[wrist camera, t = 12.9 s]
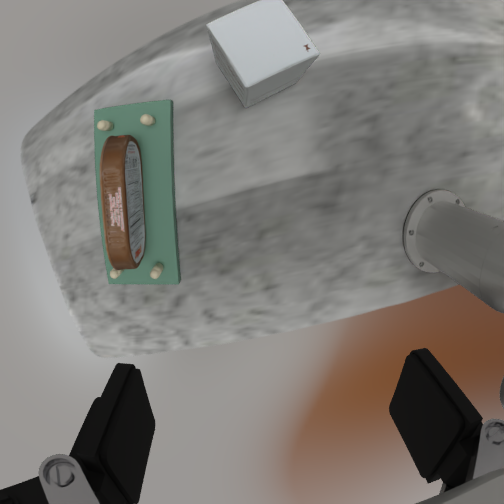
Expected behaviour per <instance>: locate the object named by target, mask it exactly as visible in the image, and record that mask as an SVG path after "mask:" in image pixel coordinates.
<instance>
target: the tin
mask: <svg viewBox="0 0 504 504" xmlns="http://www.w3.org/2000/svg"><path fill="white" fill-rule="evenodd" d="M100 190H101V205H102V217H103V228H104V237H105V245H106V251H107V255H108V259H109V261H110V263H111V265H112V267H113V268H114V269H115V270H121V269H136V268H138V266H139V265H140V263H141V261H142V259H143V257H144V251H145V237H146V236H145V215H144V195H143V173H142V159H141V152H140V148H139V145H138V142H137V140H136V139H135V138H134V137H133V136H131V135H121V136H113V135H111V136H109V137H108V138H107V139H106V141H105V142H104V145H103V148H102V152H101V157H100Z"/></svg>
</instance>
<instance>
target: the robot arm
mask: <svg viewBox="0 0 504 504" xmlns="http://www.w3.org/2000/svg"><path fill="white" fill-rule="evenodd" d="M404 247H405V251H406V254H407V256H408V258H409V260H410V261H411V262H412V263H413V264H414V265H415V266H416V267H417V268H418V269H420V270H422V271H424V272H428V273H437V272H440V271H441V272H443V273H444V274H446V275H447V276H449V277H450V278H451V279H453V280H454V281H456V282H457V283H459V284H460V285H461V286H463V287H464V288H466V289H467V290H468V291H470V292H471V293H473V294H474V295H475V296H477V297H478V298H479V299H481V300H482V301H483V302H485V303H486V304H487V305H489V306H490V307H491V308H493V309H495V310H496V311H499V312H501V313H504V221H502V220H499V219H497V218H494V217H491V216H489V215H486V214H483V213H480V212H477V211H474V210H472V209H469V208H466V207H465V204H464V203H463V201H462V200H461V199H460V198H459V197H458V196H457V195H456V194H454V193H452V192H450V191H447V190H441V189H438V190H432V191H430V192H427V193H426V194H424V195H423V196H421V197H420V198H419V199H418V200H417V201H416V202H415V204H414V205H413V207H412V208H411V210H410V212H409V214H408V216H407V219H406V222H405V227H404ZM500 401H501V404H502V407H503V408H504V377H503V380H502V383H501V386H500ZM389 412H390V415H391V417H392V419H393V420H394V423H395V425H396V427H397V428H398V430H399V432H400V434H401V436H402V438H403V440H404V442H405V444H406V446H407V448H408V450H409V452H410V454H411V457H412V458H413V461H414V463H415V465H416V467H417V469H418V471H419V473H420V475H421V476H422V477H423V478H426V480H427V482H428V483H431V482H433V481H436V480H438V479H440V478H441V479H442V481H443V484H442V487H441V490H440V493H439V495H437V496H434V497H432V498H429V499H427V500H424V501H421V502H419V503H416V504H504V421H503V420H500V419H490V420H488V421H486V422H485V423H484V424H482V422H481V421H482V419H483V418H482V417H481V415H480V414H479V413H478V411H477V410H476V409H475V407H474V406H473V405H472V403H471V402H470V401H469V399H468V398H467V397H466V396H465V394H464V393H463V392H462V390H461V389H460V388H459V387H458V385H457V384H456V383H455V382H454V380H453V379H452V378H451V377H450V375H449V374H448V373H447V372H446V371H445V369H444V368H443V367H442V366H441V364H440V363H439V362H438V361H437V360H436V358H435V357H434V356H433V355H432V354H431V352H430V351H429V350H428V349H426V348H423V349H418V350H413V351H411V353H410V355H408V356H407V357H406V360H405V363H404V366H403V369H402V372H401V375H400V379H399V381H398V384H397V387H396V390H395V393H394V395H393V398H392V401H391V403H390V406H389ZM154 431H155V419H154V416H153V413H152V410H151V406H150V403H149V400H148V396H147V393H146V389H145V386H144V382H143V378H142V375H141V371H140V369H136V368H135V366H134V365H133V364H123V363H118V364H117V365H116V366H115V368H114V370H113V372H112V374H111V376H110V378H109V380H108V383H107V385H106V387H105V389H104V391H103V393H102V395H101V397H97V398H96V399H95V400H94V402H93V404H92V406H91V408H90V410H89V412H88V414H87V416H86V419H85V421H84V423H83V425H82V428H81V430H80V432H79V434H78V436H77V438H76V441H75V443H74V446H73V448H72V450H71V452H70V455H69V456H67V455H63V454H57V455H52V456H50V457H48V458H47V459H45V460H44V461H43V462H42V464H41V466H40V468H39V476H38V477H35V478H33V479H30V480H28V481H25V482H22V483H19V484H16V485H14V486H10V487H8V488H5V489H2V490H0V504H137V503H138V502H139V498H140V493H141V489H142V484H143V479H144V475H145V470H146V465H147V461H148V456H149V452H150V448H151V443H152V439H153V435H154Z"/></svg>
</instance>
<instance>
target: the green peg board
mask: <svg viewBox="0 0 504 504" xmlns="http://www.w3.org/2000/svg"><path fill="white" fill-rule="evenodd" d="M111 135H113V136H121V135H131V136H133V137H134V138H135V139H136V140H137V142H138V145H139V148H140V152H141V159H142V173H143V195H144V215H145V236H146V237H145V251H144V257H143V259H142V261H141V263H140V265H139V266H138V268H136V269H121V270H115V269H114V268H113V267H112V265H111V263H110V261H109V259H108V255H107V251H106V245H105V237H104V228H103V217H102V205H101V190H100V157H101V152H102V148H103V145H104V142H105V141H106V139H107V138H108V137H109V136H111ZM94 140H95V169H96V185H97V198H98V209H99V219H100V228H101V236H102V243H103V251H104V257H105V264H106V270H107V276H108V282H109V284H179V283H180V280H181V276H180V265H179V253H178V240H177V225H176V208H175V188H174V158H173V101H172V100H162V101H152V102H144V103H136V104H129V105H122V106H115V107H109V108H103V109H98V110H95V111H94Z"/></svg>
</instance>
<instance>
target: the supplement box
mask: <svg viewBox="0 0 504 504" xmlns="http://www.w3.org/2000/svg"><path fill="white" fill-rule="evenodd" d="M206 26H207V30H208V33H209V37H210V41H211V44H212V48H213V52H214V56H215V61H216V63H217V65H218V66H219V68H220V69H221V71H222V72H223V74H224V75H225V77H226V79H227V80H228V82H229V83H230V85H231V86H232V88H233V90H234V91H235V93H236V94H237V96H238V97H239V99H240V101H241V102H242V104H243V105H244V107H245V108H247V107H250V106H252V105H254V104H256V103H258V102H259V101H261V100H263V99H265V98H267V97H269V96H271V95H273V94H275V93H277V92H279V91H281V90H283V89H285V88H287V87H290V86H292V85H294V84H296V82H297V81H298V80H299V79H300V77H301V76H302V75H303V74H304V73H305V71H306V70H307V69H308V68H309V67H310V65H311V64H312V63H313V62H314V61H315V60H316V59H317V57H318V56H319V55H320V52H319V51H318V49H317V48H316V46H315V45H314V43H313V42H312V41H311V39H310V38H309V36H308V35H307V33H306V32H305V31H304V29H303V28H302V26H301V25H300V23H299V22H298V21H297V19H296V18H295V16H294V15H293V14H292V12H291V11H290V10H289V8H288V7H287V6H286V4H285V3H284V2H283V0H260V1H257V2H255V3H252V4H250V5H247V6H245V7H243V8H240V9H238V10H236V11H234V12H231V13H229V14H227V15H225V16H223V17H221V18H219V19H216V20H214V21H212V22H210V23H208V24H207V25H206Z"/></svg>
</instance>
